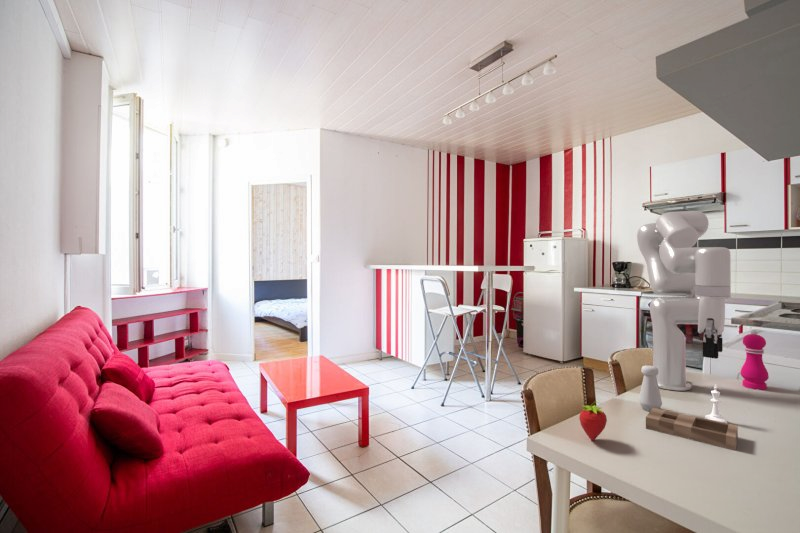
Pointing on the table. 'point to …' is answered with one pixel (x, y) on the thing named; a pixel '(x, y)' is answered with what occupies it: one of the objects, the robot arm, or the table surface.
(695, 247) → the robot arm
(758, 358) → the pepper mill
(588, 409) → the strawberry
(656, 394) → the salt shaker
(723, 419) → the chess piece
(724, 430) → the socket plate
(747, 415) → the table surface
